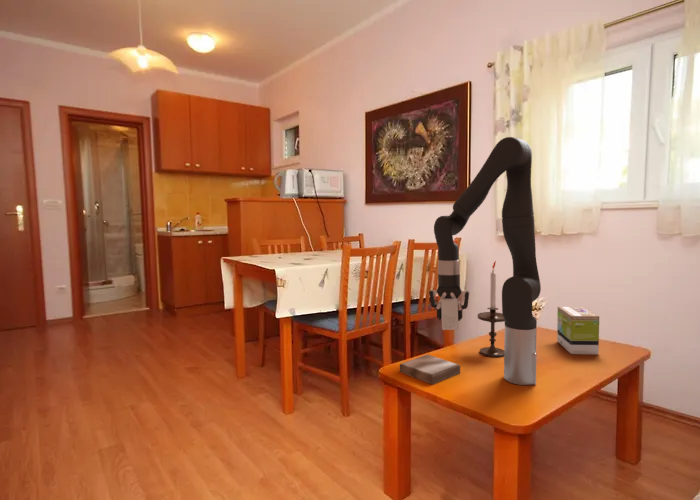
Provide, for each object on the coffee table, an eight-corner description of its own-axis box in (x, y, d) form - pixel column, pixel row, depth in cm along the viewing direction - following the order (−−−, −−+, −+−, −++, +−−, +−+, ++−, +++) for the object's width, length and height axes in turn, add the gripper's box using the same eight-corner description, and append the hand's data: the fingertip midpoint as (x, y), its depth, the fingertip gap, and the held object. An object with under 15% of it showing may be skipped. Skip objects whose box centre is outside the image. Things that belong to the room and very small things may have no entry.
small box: (458, 330, 144) (458, 300, 143) (441, 330, 145) (441, 300, 144) (457, 324, 151) (456, 295, 151) (441, 324, 153) (440, 295, 152)
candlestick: (506, 349, 160) (507, 258, 157) (509, 359, 150) (511, 262, 147) (476, 347, 163) (477, 258, 160) (478, 357, 153) (478, 262, 149)
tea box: (556, 341, 169) (556, 305, 167) (582, 342, 167) (583, 306, 166) (570, 354, 154) (571, 315, 152) (599, 355, 152) (600, 315, 151)
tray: (460, 373, 138) (460, 364, 138) (432, 384, 129) (432, 375, 129) (427, 362, 149) (427, 353, 149) (399, 371, 140) (399, 363, 140)
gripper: (471, 271, 147) (471, 318, 149) (430, 271, 153) (431, 316, 154) (469, 274, 141) (469, 323, 142) (426, 273, 146) (427, 321, 147)
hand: (449, 319), depth 148 cm, fingers closed on small box, 6 cm apart
